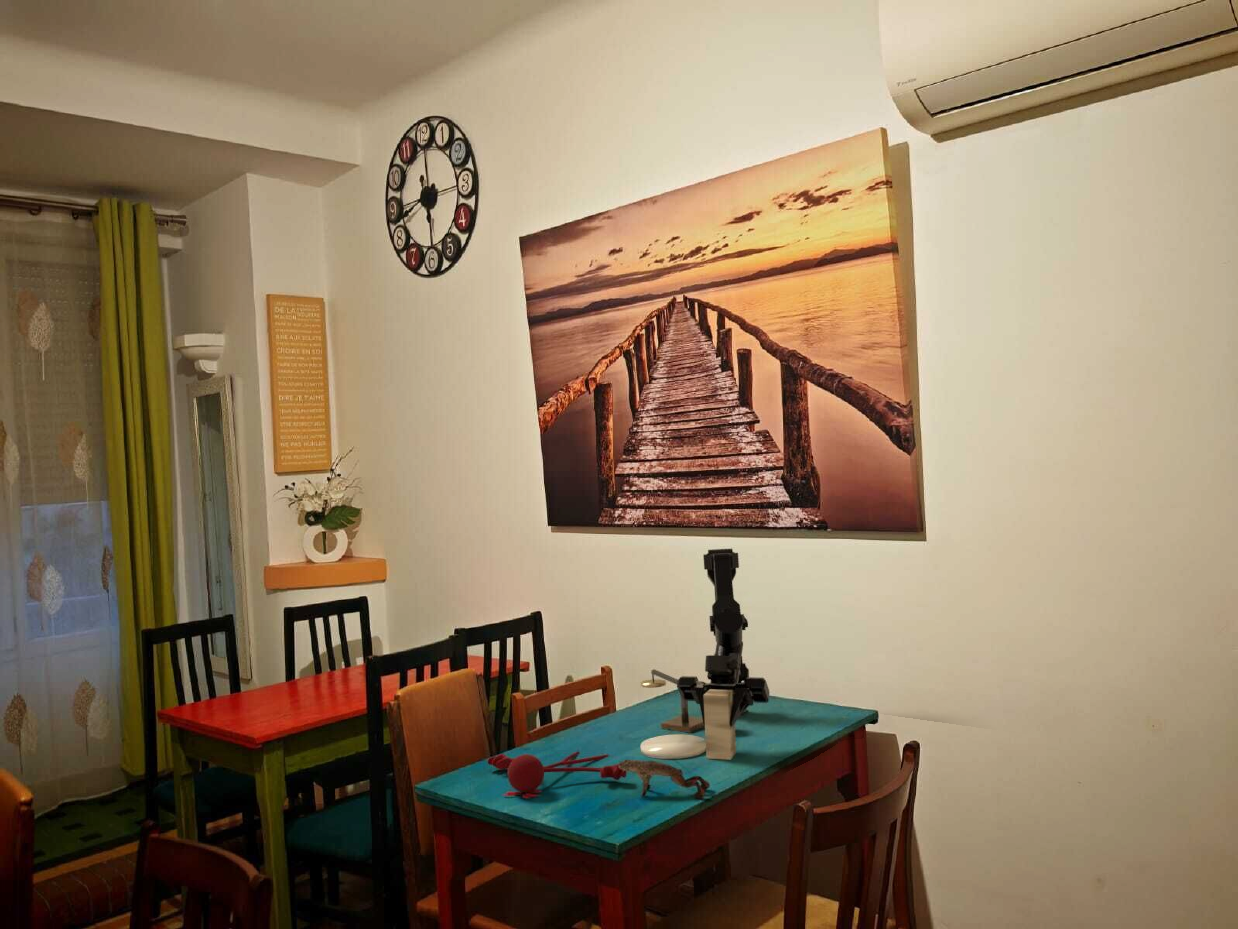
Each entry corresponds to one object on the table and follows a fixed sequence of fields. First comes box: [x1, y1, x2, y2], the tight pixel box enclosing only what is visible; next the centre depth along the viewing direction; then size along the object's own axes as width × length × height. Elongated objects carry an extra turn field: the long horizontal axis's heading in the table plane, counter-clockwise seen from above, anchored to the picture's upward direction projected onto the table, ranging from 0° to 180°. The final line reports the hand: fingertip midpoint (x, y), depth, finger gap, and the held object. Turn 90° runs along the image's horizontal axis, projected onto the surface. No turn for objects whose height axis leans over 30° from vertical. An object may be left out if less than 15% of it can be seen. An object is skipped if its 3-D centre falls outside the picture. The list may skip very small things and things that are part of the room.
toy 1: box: [486, 750, 628, 799], centre depth 205 cm, size 32×8×30 cm
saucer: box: [640, 734, 706, 760], centre depth 217 cm, size 14×14×1 cm
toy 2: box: [618, 759, 711, 800], centre depth 189 cm, size 6×9×16 cm
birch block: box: [703, 689, 737, 761], centre depth 211 cm, size 5×5×13 cm
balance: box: [640, 669, 705, 734], centre depth 235 cm, size 8×23×12 cm, turn 50°
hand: (717, 725), depth 210 cm, fingers closed on birch block, 5 cm apart
